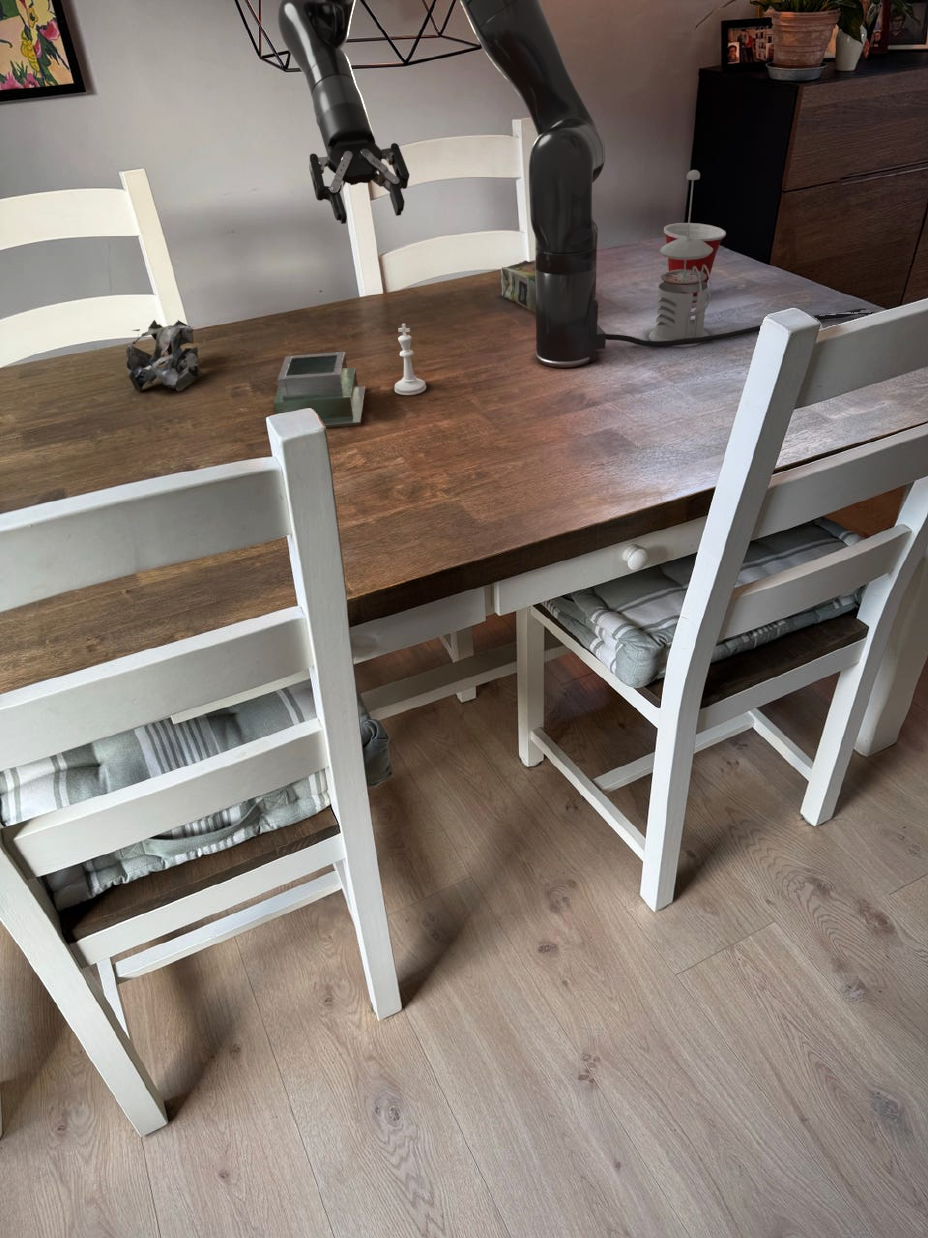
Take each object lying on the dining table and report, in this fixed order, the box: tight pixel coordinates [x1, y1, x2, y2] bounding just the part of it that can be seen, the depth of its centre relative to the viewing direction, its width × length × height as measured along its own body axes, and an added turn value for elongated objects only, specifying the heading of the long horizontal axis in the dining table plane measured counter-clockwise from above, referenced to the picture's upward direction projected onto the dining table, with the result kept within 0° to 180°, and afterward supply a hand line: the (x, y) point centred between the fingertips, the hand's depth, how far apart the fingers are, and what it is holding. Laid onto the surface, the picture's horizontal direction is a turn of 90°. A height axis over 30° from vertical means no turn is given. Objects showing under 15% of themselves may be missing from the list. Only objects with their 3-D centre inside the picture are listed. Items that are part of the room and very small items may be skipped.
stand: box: [272, 351, 366, 429], centre depth 126 cm, size 13×13×7 cm
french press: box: [648, 169, 713, 348], centre depth 134 cm, size 10×12×25 cm
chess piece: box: [394, 323, 427, 396], centre depth 129 cm, size 5×5×10 cm
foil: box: [125, 319, 204, 393], centre depth 140 cm, size 12×11×15 cm
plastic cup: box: [663, 222, 727, 303], centre depth 154 cm, size 11×11×12 cm
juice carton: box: [500, 259, 536, 315], centre depth 158 cm, size 20×10×6 cm, turn 27°
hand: (372, 216), depth 127 cm, fingers open, 8 cm apart
